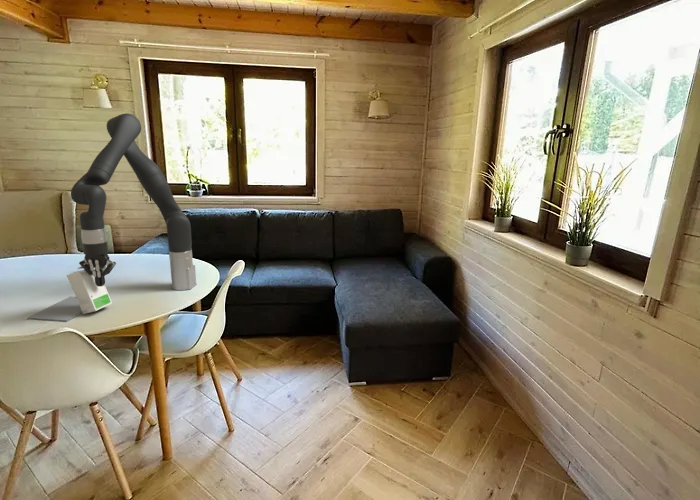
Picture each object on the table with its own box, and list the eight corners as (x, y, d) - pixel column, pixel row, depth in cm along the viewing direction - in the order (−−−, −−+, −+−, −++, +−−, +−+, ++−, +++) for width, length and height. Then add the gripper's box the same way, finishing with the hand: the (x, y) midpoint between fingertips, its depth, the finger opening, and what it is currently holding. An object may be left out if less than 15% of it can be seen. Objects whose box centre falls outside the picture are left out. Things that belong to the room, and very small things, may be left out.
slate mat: (105, 299, 155) (105, 298, 155) (66, 321, 136) (66, 320, 136) (70, 297, 156) (70, 296, 156) (27, 318, 137) (26, 317, 137)
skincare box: (95, 311, 140) (78, 272, 137) (81, 314, 142) (64, 275, 139) (113, 302, 148) (97, 265, 145) (100, 305, 150) (84, 268, 147)
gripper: (119, 239, 141) (124, 283, 146) (84, 237, 142) (90, 281, 146) (105, 244, 134) (111, 290, 138) (69, 241, 135) (76, 288, 139)
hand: (100, 285), depth 142 cm, fingers closed
